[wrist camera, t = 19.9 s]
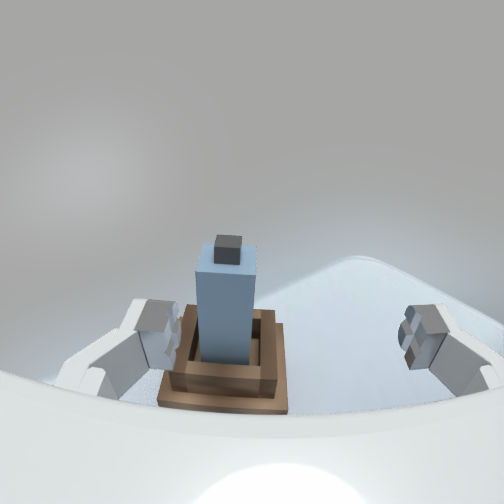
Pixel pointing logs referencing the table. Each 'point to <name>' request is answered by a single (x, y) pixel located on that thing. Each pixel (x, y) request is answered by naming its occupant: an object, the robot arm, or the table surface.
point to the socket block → (228, 372)
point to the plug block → (225, 300)
